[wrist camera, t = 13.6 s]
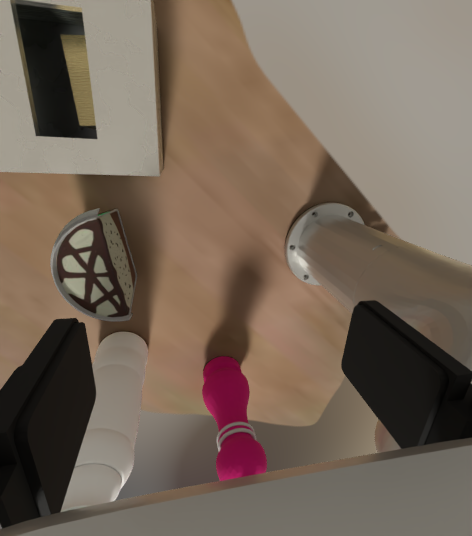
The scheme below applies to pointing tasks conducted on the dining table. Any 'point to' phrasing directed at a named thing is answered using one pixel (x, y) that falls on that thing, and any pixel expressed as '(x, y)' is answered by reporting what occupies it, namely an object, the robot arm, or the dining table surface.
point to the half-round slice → (95, 266)
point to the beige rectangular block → (79, 78)
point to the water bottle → (110, 422)
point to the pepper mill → (232, 420)
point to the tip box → (61, 96)
